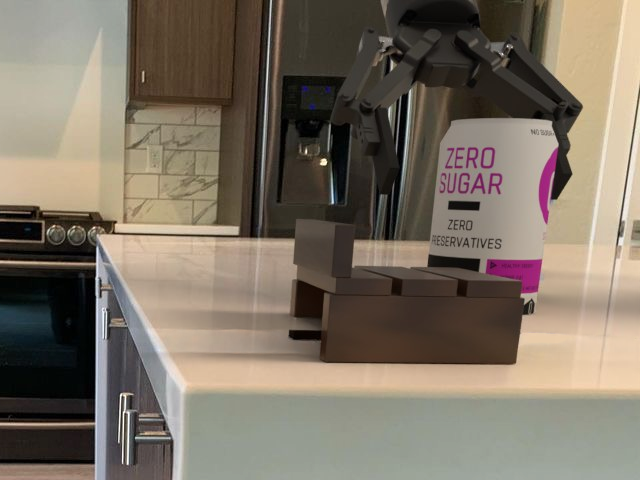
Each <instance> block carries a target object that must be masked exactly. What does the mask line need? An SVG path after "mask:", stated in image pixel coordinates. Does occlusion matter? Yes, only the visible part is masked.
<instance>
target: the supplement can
mask: <svg viewBox="0 0 640 480" xmlns="http://www.w3.org/2000/svg"><path fill="white" fill-rule="evenodd" d="M557 151H558V142H557V139H556V136H555V134H554V131H553V128H552V121H548V120H539V119H521V118H512V117H510V118H509V117H488V118H487V117H485V118H484V117H483V118H465V119H455V120H451V121H450V126H449V128H448V129H447V132H446V133H445V134H444V136H443V138H442V139H441V141H440V143H439V150H438V160H437V171H436V179H435V187H434V190H435V192H434V197H433V209H432V218H431V227H430V235H429V246H428V254H427V255H428V256H427V266H426V267H447V268H461V269H466V270H471V271H476V272H480V273H485V274H490V275H495V276H500V277H505V278H510V279H515V280H519V281H522V290H521V297H522V298H525V301H524V309H523V316H530V315H532V314H533V315H534V314H536V309H537V300H538V295H539V293H538V292H539V288H540V287H539V286H540V280H541V273H542V266H543V265H542V264H543V259H544V250H545V244H546V237H547V230H548V223H549V215H550V208H551V203H552V200H551V194H552V187H553V180H554V173H555V166H556V159H557ZM521 334H522V332H520V335H521Z"/></svg>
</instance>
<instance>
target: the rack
mask: <svg viewBox="0 0 640 480" xmlns="http://www.w3.org/2000/svg"><path fill="white" fill-rule="evenodd" d="M355 235H356V224H352V223H345V222H344V223H343V222H337V221H336V222H335V221H329V220H320V219H312V218H296V220H295V231H294V245H293V259H292V264H293V265H295V266H296V278H293V279H292V280H291V291H290V292H291V293H290V304H289V305H290V306H289V315H290V316H291V317H292V318H315V319H317V318H318V319H319V318H320V319H321V329H288V338H289V339H291V340H293V341H320V344H319V359H320V360H322V361H324V362H325V363H381V364H382V363H385V364H386V363H387V364H389V363H391V364H393V363H395V364H396V363H397V364H481V365H482V364H483V365H484V364H486V365H488V364H489V365H491V364H492V365H495V364H496V365H515V364H517V358H518V351H519V344H520V336H521V334H520V333H521V329H522V322H523V316H524V315H523V309H524V301H525V298H522V297H521V290H522V281H519V280H515V279H510V278H505V277H500V276H495V275H490V274H485V273H480V272H476V271H471V270H466V269H461V268H447V267H427V266H410V268H409V267H406V266H394V265H393V266H392V265H390V266H389V265H354V266H353V262H354V261H353V258H354V249H355V248H354V247H355Z"/></svg>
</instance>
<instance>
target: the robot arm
mask: <svg viewBox="0 0 640 480" xmlns="http://www.w3.org/2000/svg"><path fill="white" fill-rule="evenodd" d="M380 5H381V9H382V13H383V16H384V22H385V27H386V31H387V36H383V35H380V34H379V29H378V28H377V27H376V26H374V25H366V26H365V27H364V28H363V33H362V35H361V38H360V41H359V44H358V48H357V51H356V59H354V60H355V61H354V62H353V64H352V66H351V68H350V70H349V72H348V73H347V75H346V77H345V79H344V81H343V83H342V85H341V87H340V89H339V90H338V92H337V95H336V99H335V102H334V105H333V108H332V112H331V115H330V119H329V120H330V122H331V124H333V125H335V126H343V125H344V124H345V123H346V124H349V125H351V126H352V127H351V130H350V136H351V137H352V138H353V139H354V140H358V145H359V151H360V153H361V154H362V155H363V157H371V158H372V163H373V168H374V174H375V178H376V184H377V188H378V193H379V195H380V196H381V195H383V196H385V195H387V196H390V194H391V191H392V189H393V186H394V184H395V181H396V179H397V176H398V174H399V171H400V169H401V168H400V163H399V158H398V154H397V149H396V146H395V141H394V136H393V130H392V126H391V121H390V117H389V113H388V110H389V109H390V108H391V107H392V106H393V105H394V104H395V103H396V102H397V101H398V99H400V98H401V97H402V96H403V95H407V94H408V93H409V92H410V91H412V89H413V88H414V87H415V86H416V85H417V84H418V83H419V84H421V85H424V87H425V88H440V87H444V88H450V89H459V90H461V89H462V90H464V91H465V92H467V94H470V95H471V96H472V97H474V98H479V97H483V98H484V99H486V100H487V101H488V102H490V104H492V105H494V106H496V107H497V108H498V109H500V110H501V111H502V112H504V113H505V114H506V115H508V116H509V117H510V118H521V119H539V120H548V121H552V128H553V131H554V134H555V136H556V139H557V142H558V151H557V159H556V166H555V173H554V180H553V187H552V194H551V201H557V200H558V199H559V197H560V195H561V194H562V193H563V190H564V189H565V187H566V186H567V184H568V183H569V182H570V179H572V176H573V171H572V167H571V165H570V162H569V159H568V153H569V152H570V151H571V146H572V144H571V142H570V139H569V136H568V134H569V133H570V131H571V130H572V128H573V127H574V124H575V123H576V121H577V119H578V118H579V116H580V115H581V112H582V111H583V109H584V105H583V104H582V102H581V101H580V100H579V99H578V98H576V97H575V95H574V94H572V92H571V91H569V89H567V87H566V86H564V84H562V83H561V81H560V80H558V78H556V76H554V75H553V73H551V71H550V70H549V69H548V68H546V67H545V66H544V65H543V64H542V63H541V62H540V61H539V60H538V59H537V57H535V56H534V55H533V53H531V52H530V51H529V50H528V47H527V45H526V43H525V41H524V39H523V37H522V36H521V35H520V34H519V33H517V32H510V33H508V34H507V37H506V39H505V41H490V39H489V38H488V37H487V36H486V35H485V34H484V33H483V31H482V27H481V14H480V9H479V7H478V3H477V0H380ZM385 56H388V57H389V59H390V60H391V61H392V62H393V63H394V64H395V66H394V67H393V68H392V69H391V70H390V71H389V72H388V73H386V75H385V76H384V77H383V78H382V79H381V80H380V81H379V82H378V83H377V84H376V85H375V86H374V87H373V88H371V90H370V91H368V93H367V94H365V95H364V96H363V97H362V99H361V100H360V99H358V98H359V96H360V94H361V92H362V90H363V88H364V86H365V84H366V82H367V80H368V78H369V76H370V73H371V71H372V67H376V66H377V65H378V62H381V61H383V58H384V57H385ZM481 68H482V70H481V71H480V69H481ZM479 71H480V74H479V76H478V78H477V79H476V78H474V77H475V76H476V75H477V73H478V72H479Z"/></svg>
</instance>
